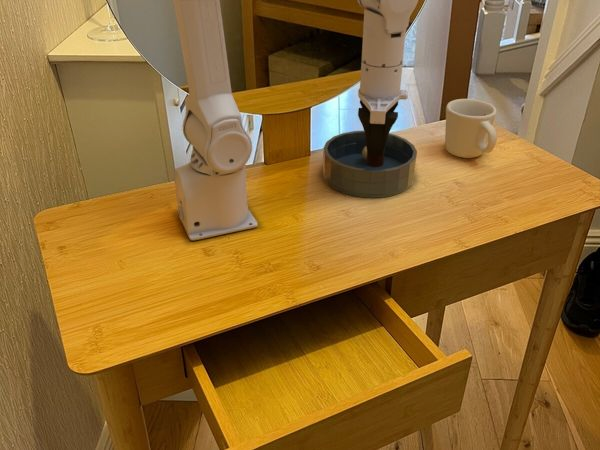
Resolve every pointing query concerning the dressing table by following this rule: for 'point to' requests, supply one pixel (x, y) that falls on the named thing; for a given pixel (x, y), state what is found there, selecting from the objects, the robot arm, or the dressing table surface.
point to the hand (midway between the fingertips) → (375, 149)
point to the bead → (364, 153)
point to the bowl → (362, 178)
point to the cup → (470, 127)
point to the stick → (375, 160)
